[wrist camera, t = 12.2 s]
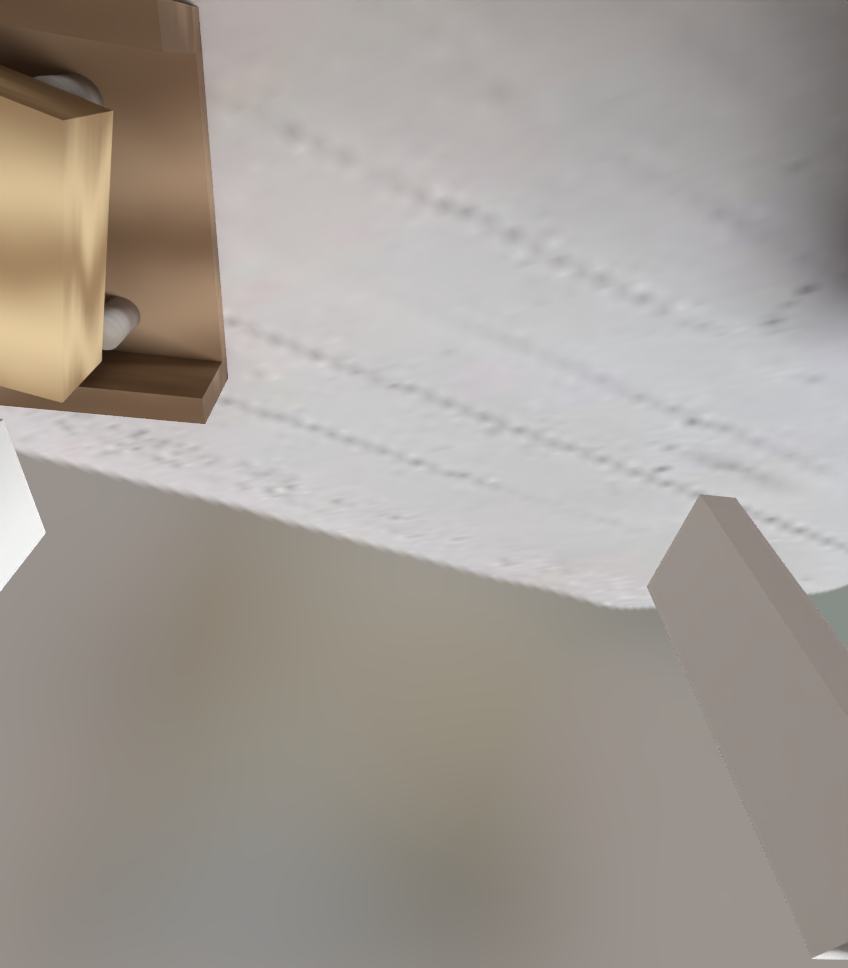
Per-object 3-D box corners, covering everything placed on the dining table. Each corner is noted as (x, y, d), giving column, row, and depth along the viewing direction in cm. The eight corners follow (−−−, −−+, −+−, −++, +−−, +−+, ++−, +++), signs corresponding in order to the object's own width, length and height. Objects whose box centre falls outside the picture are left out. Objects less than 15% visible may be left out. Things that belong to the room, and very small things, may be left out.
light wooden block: (101, 361, 30) (62, 402, 26) (-27, 323, 28) (-87, 362, 24) (113, 110, 23) (62, 120, 19) (-54, 42, 21) (-142, 39, 18)
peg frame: (-162, -60, 22) (-295, -88, 18) (198, 7, 24) (156, -4, 20) (-13, 353, 33) (-74, 398, 29) (227, 378, 35) (205, 424, 31)
